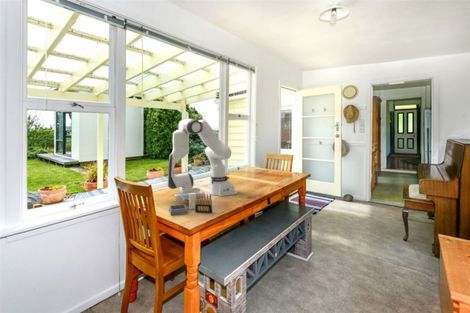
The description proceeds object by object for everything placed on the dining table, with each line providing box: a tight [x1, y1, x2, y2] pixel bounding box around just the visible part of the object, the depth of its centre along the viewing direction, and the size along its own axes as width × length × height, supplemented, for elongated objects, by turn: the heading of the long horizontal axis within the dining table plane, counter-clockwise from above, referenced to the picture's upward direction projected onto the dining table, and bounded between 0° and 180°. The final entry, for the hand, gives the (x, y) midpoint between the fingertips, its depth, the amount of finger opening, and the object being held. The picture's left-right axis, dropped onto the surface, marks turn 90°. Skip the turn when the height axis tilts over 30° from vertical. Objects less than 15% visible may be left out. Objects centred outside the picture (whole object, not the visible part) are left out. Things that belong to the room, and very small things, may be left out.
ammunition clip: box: [194, 193, 213, 214], centre depth 157 cm, size 11×2×12 cm, turn 81°
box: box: [168, 203, 188, 216], centre depth 158 cm, size 10×10×3 cm
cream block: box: [188, 193, 196, 211], centre depth 165 cm, size 4×4×10 cm
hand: (191, 198), depth 166 cm, fingers open, 8 cm apart
